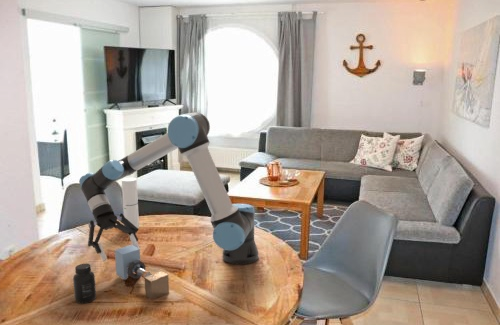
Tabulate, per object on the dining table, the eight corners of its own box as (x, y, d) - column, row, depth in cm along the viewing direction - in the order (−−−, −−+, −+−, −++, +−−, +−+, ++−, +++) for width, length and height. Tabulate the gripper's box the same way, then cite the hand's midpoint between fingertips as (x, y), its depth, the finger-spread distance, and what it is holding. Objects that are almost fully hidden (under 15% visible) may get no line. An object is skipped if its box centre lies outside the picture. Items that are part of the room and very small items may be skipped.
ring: (128, 279, 154) (127, 263, 153) (142, 273, 158) (142, 258, 157) (130, 280, 153) (129, 264, 152) (145, 275, 157) (144, 259, 156)
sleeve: (116, 274, 160) (114, 249, 158) (132, 268, 164) (131, 244, 163) (124, 279, 155) (122, 254, 154) (140, 273, 160) (139, 249, 158)
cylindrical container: (135, 230, 209) (132, 181, 204) (121, 229, 211) (118, 180, 206) (141, 225, 216) (139, 178, 211) (128, 224, 218) (125, 177, 213)
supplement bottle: (99, 293, 147) (96, 261, 145) (92, 303, 141) (89, 270, 138) (79, 294, 147) (76, 262, 145) (71, 304, 140) (68, 271, 138)
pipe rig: (115, 276, 160) (114, 259, 159) (132, 270, 165) (131, 254, 164) (151, 300, 143) (150, 281, 142) (169, 293, 148) (168, 274, 146)
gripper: (126, 206, 179) (147, 249, 171) (67, 220, 162) (87, 269, 154) (132, 197, 174) (153, 241, 167) (72, 210, 157) (93, 259, 149)
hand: (121, 254), depth 160 cm, fingers open, 13 cm apart
